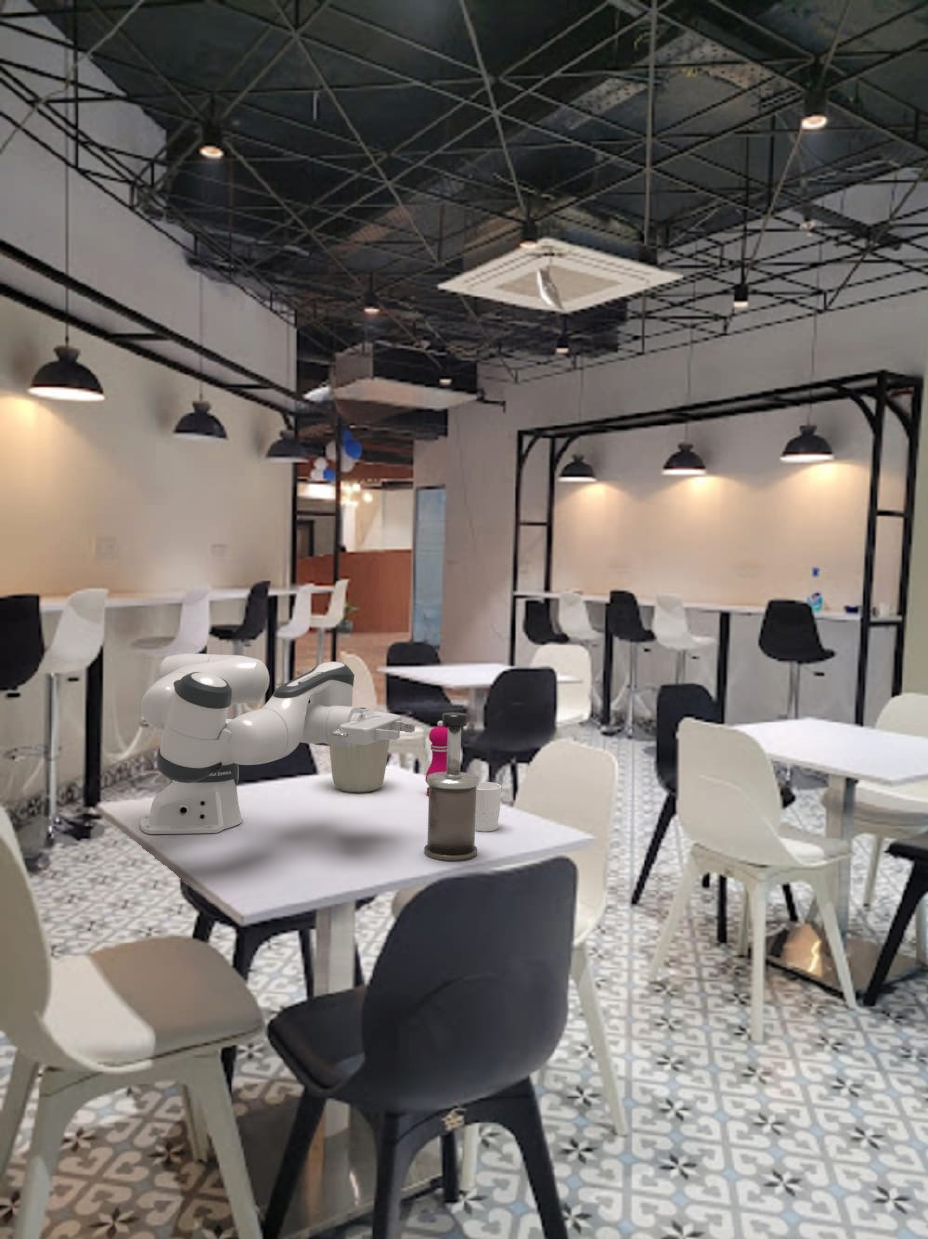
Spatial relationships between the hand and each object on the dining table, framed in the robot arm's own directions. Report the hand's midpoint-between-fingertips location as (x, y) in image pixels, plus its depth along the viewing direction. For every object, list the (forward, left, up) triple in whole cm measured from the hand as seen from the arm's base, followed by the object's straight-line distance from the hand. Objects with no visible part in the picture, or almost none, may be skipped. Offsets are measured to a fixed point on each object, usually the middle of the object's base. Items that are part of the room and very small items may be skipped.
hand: (406, 731), depth 193 cm
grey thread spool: (+8, -7, -25) cm, 27 cm away
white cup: (+22, +9, -25) cm, 35 cm away
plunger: (+8, -7, -8) cm, 13 cm away
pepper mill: (+22, +41, -25) cm, 53 cm away
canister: (+3, +53, -25) cm, 59 cm away
